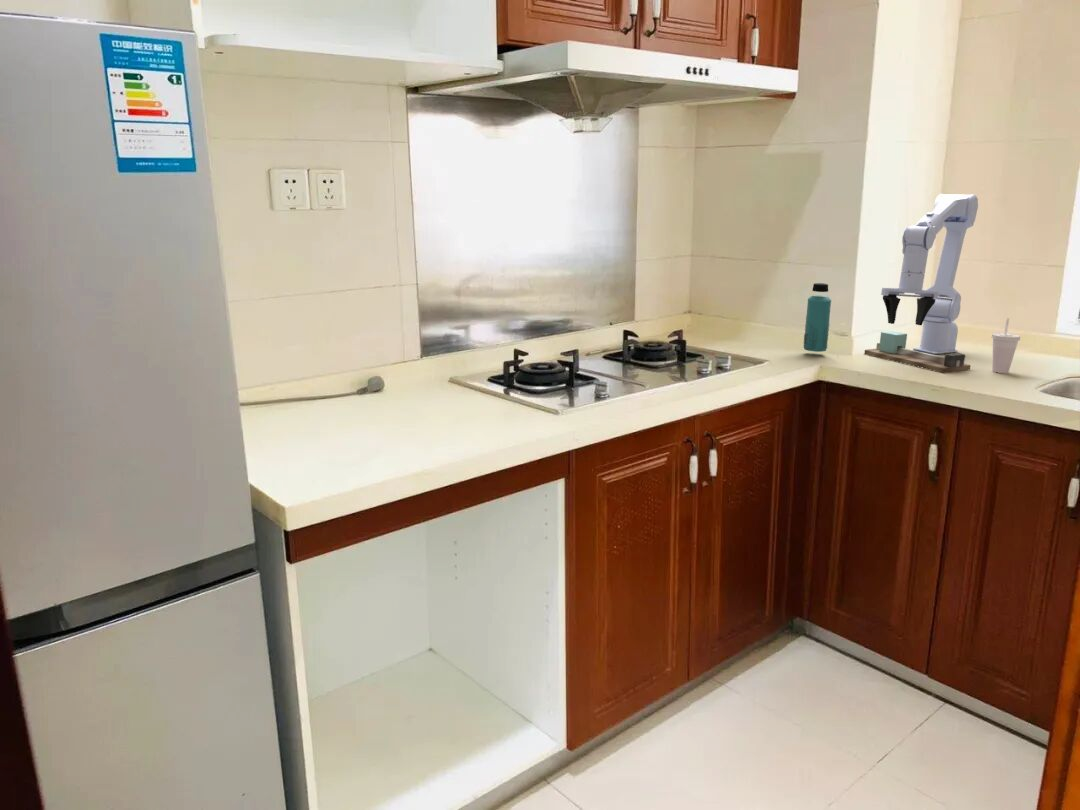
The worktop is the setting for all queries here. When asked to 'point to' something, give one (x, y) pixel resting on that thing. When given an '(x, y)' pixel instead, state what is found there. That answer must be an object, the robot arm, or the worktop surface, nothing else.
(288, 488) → the worktop surface
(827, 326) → the beverage bottle
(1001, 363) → the smoothie
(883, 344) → the block
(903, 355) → the track
